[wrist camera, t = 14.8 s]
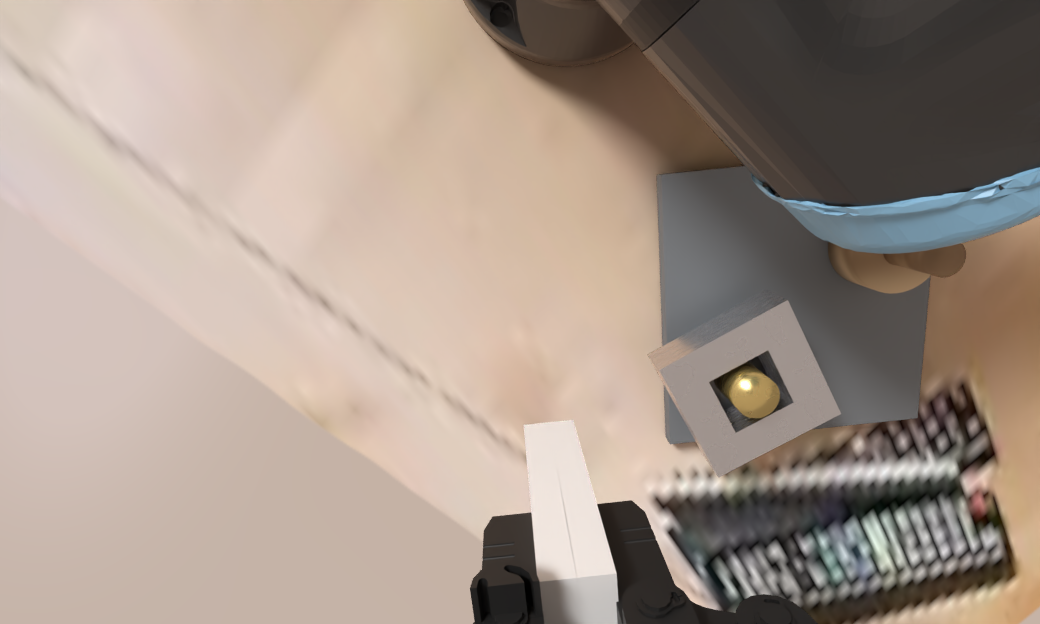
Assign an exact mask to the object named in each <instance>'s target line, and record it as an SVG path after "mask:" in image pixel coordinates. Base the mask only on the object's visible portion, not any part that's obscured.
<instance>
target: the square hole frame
mask: <svg viewBox="0 0 1040 624" xmlns="http://www.w3.org/2000/svg"><path fill="white" fill-rule="evenodd" d="M757 356H758V357H759V359H760V361H761V363H762V365H763V367H764V369H765V371H766V373H767V375H768V377H769V378H770V379H771V380H772V381H773V382H774V383H775V384H776V385H777V386H778V388H779V392H780V399H779V402H778V405H777V407H776V408H775V409H774V410H773V411H772V412H771V413H770V414H768V415H767V416H764V417H761V418H749V417H746V416H744V415H743V414H742V413H741V412H740V411H739V410H738V409H737V408H736V407H735V406H732V407H730V408H728V409H726V410H723V408H722V406H721V404H720V402H719V400H718V398H717V396H716V395H715V393H714V391H713V389H712V387H711V385H710V383H709V382H710V381H712V380H714V379H716V378H717V377H719V376H721V375H723V374H725V373H727V372H729V371H730V370H732V369H734V368H736V367H738V366H740V365H742V364H743V363H745V362H747V361H749V360H751V359H753V358H755V357H757ZM648 357H649V358H650V360H651V362H652V364H653V366H654V367H655V369H656V371H657V373H658V375H659V376H660V378H661V380H662V382H663V384H664V385H665V387H666V389H667V391H668V393H669V395H670V396H671V398H672V400H673V402H674V404H675V405H676V407H677V409H678V411H679V413H680V414H681V416H682V418H683V420H684V422H685V423H686V425H687V427H688V429H689V431H690V432H691V434H692V436H693V438H694V440H695V441H696V443H697V445H698V447H699V449H700V450H701V452H702V454H703V456H704V457H705V459H706V460H707V461H708V463H709V464H710V466H711V467H712V469H713V470H714V472H715V473H716V474H717V476H718V477H720V476H722V475H724V474H726V473H728V472H730V471H732V470H734V469H736V468H738V467H740V466H742V465H743V464H745V463H747V462H749V461H751V460H753V459H755V458H757V457H759V456H761V455H763V454H765V453H767V452H769V451H771V450H772V449H774V448H776V447H778V446H780V445H782V444H784V443H786V442H788V441H790V440H792V439H794V438H796V437H798V436H800V435H801V434H803V433H805V432H807V431H809V430H811V429H813V428H815V427H817V426H819V425H821V424H823V423H825V422H827V421H828V420H830V419H832V418H834V417H836V416H838V415H840V414H841V412H840V410H839V408H838V406H837V404H836V402H835V400H834V397H833V395H832V393H831V391H830V389H829V387H828V385H827V383H826V380H825V378H824V376H823V374H822V372H821V370H820V368H819V365H818V363H817V361H816V359H815V357H814V355H813V353H812V350H811V348H810V346H809V344H808V342H807V340H806V338H805V336H804V333H803V331H802V329H801V327H800V325H799V323H798V321H797V318H796V316H795V314H794V312H793V310H792V308H791V306H790V304H789V301H788V300H787V299H785V298H783V297H781V296H779V295H777V294H774V293H772V292H770V291H768V290H764V291H762V292H760V293H758V294H757V295H755V296H753V297H751V298H749V299H747V300H746V301H744V302H742V303H740V304H738V305H737V306H735V307H733V308H731V309H729V310H727V311H726V312H724V313H722V314H720V315H718V316H717V317H715V318H713V319H711V320H709V321H707V322H706V323H704V324H702V325H700V326H698V327H697V328H695V329H693V330H691V331H689V332H687V333H686V334H684V335H682V336H680V337H678V338H677V339H675V340H673V341H671V342H669V343H668V344H666V345H664V346H662V347H660V348H658V349H657V350H655V351H653V352H651V353H649V354H648Z"/></svg>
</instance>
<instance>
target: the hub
mask: <svg viewBox="0 0 1040 624" xmlns="http://www.w3.org/2000/svg"><path fill="white" fill-rule="evenodd" d="M709 383H710V385H711V387H712V389H713V391H714V393H715V395H716V396H717V398H718V400H719V402H720V404H721V406H722V408H723V410H726V409H728V408H730V407H732V406H735V407H736V408H737V409H738V410H739V411H740V412H741V413H742V414H743V415H744V416H746V417H749V418H761V417H764V416H767V415H768V414H770V413H771V412H772V411H773V410H774V409H775V408H776V407H777V405H778V402H779V399H780V392H779V388H778V386H777V385H776V384H775V383H774V382H773V381H772V380H771V379H770V378H769V377H768V375H767V373H766V371H765V369H764V367H763V365H762V363H761V361H760V359H759V357H758V356H757V357H755V358H753V359H751V360H749V361H747V362H745V363H743V364H742V365H740V366H738V367H736V368H734V369H732V370H730V371H729V372H727V373H725V374H723V375H721V376H719V377H717V378H716V379H714V380H712V381H710V382H709Z"/></svg>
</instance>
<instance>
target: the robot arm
mask: <svg viewBox="0 0 1040 624" xmlns="http://www.w3.org/2000/svg"><path fill="white" fill-rule="evenodd" d="M463 1H464V3H465V5H466V6H467V8H468V10H469V11H470V13H471V14H472V16H473V17H474V18H475V20H476V21H477V22H478V23H479V25H480V26H481V27H482V28H483V29H484V30H485V31H486V32H487V33H488V34H489V35H490V36H491V37H492V38H493V39H494V40H495V41H497V42H498V43H499V44H501V45H502V46H503V47H505V48H507V49H508V50H510V51H511V52H513V53H515V54H517V55H519V56H521V57H523V58H525V59H528V60H531V61H534V62H537V63H541V64H546V65H552V66H580V65H586V64H591V63H595V62H598V61H601V60H604V59H607V58H609V57H611V56H613V55H615V54H617V53H619V52H621V51H623V50H624V49H626V48H627V47H629V46H630V45H632V44H633V43H635V44H636V45H637V46H638V47H639V48H640V49H641V51H642V53H643V54H644V55H645V56H646V58H647V59H648V60H649V61H650V62H651V63H652V64H653V65H654V66H655V67H656V69H657V70H658V71H659V72H660V73H661V74H662V75H663V76H664V77H665V78H666V80H667V81H668V82H669V83H670V84H671V85H672V86H673V87H674V88H675V89H676V91H677V92H678V93H679V94H680V95H681V96H682V97H683V98H684V99H685V100H686V102H687V103H688V104H689V105H690V106H691V107H692V108H693V109H694V110H695V111H696V113H697V114H698V115H699V116H700V117H701V118H702V119H703V120H704V121H705V122H706V124H707V125H708V126H709V127H710V128H711V129H712V130H713V131H714V132H715V133H716V135H717V136H718V137H719V138H720V139H721V140H722V141H723V142H724V143H725V144H726V146H727V147H728V148H729V149H730V150H731V151H732V152H733V153H734V154H735V155H736V157H737V158H738V159H739V160H740V161H741V162H742V163H743V164H744V165H745V166H746V168H747V169H748V170H749V171H750V172H751V178H752V180H753V182H754V183H755V184H756V185H757V187H758V188H759V189H760V190H761V191H762V192H763V193H764V194H765V195H767V196H768V197H770V198H771V199H773V200H775V201H777V202H779V203H781V204H782V205H783V206H784V207H785V208H786V209H787V210H788V211H789V212H790V213H791V214H792V215H793V216H794V217H795V218H796V219H797V220H798V221H799V222H800V223H801V224H802V225H803V226H804V227H805V228H806V229H808V230H809V231H810V232H811V233H812V234H814V235H815V236H817V237H818V238H820V239H822V240H824V241H828V242H831V243H833V244H835V245H838V246H840V247H842V248H845V249H850V250H853V251H857V252H867V253H877V254H897V253H911V252H919V251H927V250H932V249H937V248H942V247H947V246H952V245H956V244H960V243H964V242H968V241H972V240H975V239H979V238H982V237H985V236H988V235H992V234H995V233H997V232H1000V231H1003V230H1006V229H1008V228H1011V227H1014V226H1016V225H1019V224H1021V223H1024V222H1026V221H1028V220H1030V219H1032V218H1035V217H1037V216H1039V215H1040V0H463ZM524 434H525V445H526V457H527V468H528V479H529V491H530V502H531V513H523V514H514V515H504V516H495V517H492V519H491V520H490V522H489V523H488V525H487V527H486V528H485V530H484V539H483V562H482V570H481V571H480V572H479V573H478V574H477V575H476V576H475V577H474V578H473V581H472V584H471V587H470V591H471V598H472V605H473V612H474V619H475V622H474V623H473V624H818V623H817V622H816V621H815V620H814V619H813V618H812V617H811V616H809V615H808V614H807V613H806V612H805V611H804V610H803V609H801V608H800V607H799V606H797V605H796V604H795V603H793V602H791V601H788V600H786V599H784V598H781V597H779V596H772V595H765V594H763V595H756V596H750V597H749V598H747V599H745V600H743V601H742V602H741V603H740V605H739V606H738V608H737V610H736V613H732V612H725V611H718V610H713V609H709V608H705V607H702V606H700V605H697V604H695V603H693V602H692V601H690V600H689V598H688V597H687V595H686V594H685V593H684V591H682V590H681V589H680V588H678V587H677V586H676V585H675V584H674V582H673V579H672V577H671V574H670V572H669V569H668V567H667V565H666V562H665V560H664V557H663V555H662V552H661V550H660V548H659V545H658V543H657V541H656V538H655V535H654V533H653V531H652V529H651V526H650V523H649V521H648V518H647V516H646V514H645V512H644V511H643V510H642V509H641V508H640V507H639V506H637V505H636V504H635V503H634V502H633V501H622V502H613V503H603V504H597V502H596V499H595V495H594V492H593V488H592V484H591V481H590V477H589V474H588V470H587V467H586V463H585V460H584V456H583V453H582V449H581V445H580V442H579V438H578V435H577V431H576V428H575V424H574V421H573V420H566V421H556V422H547V423H537V424H528V425H524Z"/></svg>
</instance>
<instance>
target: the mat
mask: <svg viewBox="0 0 1040 624" xmlns="http://www.w3.org/2000/svg"><path fill="white" fill-rule="evenodd" d="M657 199H658V228H659V257H660V286H661V315H662V344H663V346H664V345H666V344H668V343H669V342H671V341H673V340H675V339H677V338H678V337H680V336H682V335H684V334H686V333H687V332H689V331H691V330H693V329H695V328H697V327H698V326H700V325H702V324H704V323H706V322H707V321H709V320H711V319H713V318H715V317H717V316H718V315H720V314H722V313H724V312H726V311H727V310H729V309H731V308H733V307H735V306H737V305H738V304H740V303H742V302H744V301H746V300H747V299H749V298H751V297H753V296H755V295H757V294H758V293H760V292H762V291H764V290H768V291H770V292H772V293H774V294H777V295H779V296H781V297H783V298H785V299H787V300H788V301H789V304H790V306H791V308H792V310H793V312H794V314H795V316H796V318H797V321H798V323H799V325H800V327H801V329H802V331H803V333H804V336H805V338H806V340H807V342H808V344H809V346H810V348H811V350H812V353H813V355H814V357H815V359H816V361H817V363H818V365H819V368H820V370H821V372H822V374H823V376H824V378H825V380H826V383H827V385H828V387H829V389H830V391H831V393H832V395H833V397H834V400H835V402H836V404H837V406H838V408H839V410H840V412H841V414H840V415H838V416H836V417H834V418H832V419H830V420H828V421H827V422H825V423H823V424H821V425H819V426H817V427H815V428H813V429H819V428H829V427H838V426H848V425H857V424H867V423H876V422H886V421H895V420H904V419H914V418H917V417H918V406H919V395H920V385H921V374H922V363H923V352H924V341H925V330H926V320H927V309H928V298H929V287H930V277H929V278H928V279H927V280H925V281H924V282H923V283H922V284H920V285H919V286H917V287H915V288H913V289H911V290H908V291H905V292H901V293H892V294H890V293H883V292H879V291H876V290H873V289H870V288H867V287H864V286H861V285H858V284H855V283H852V282H850V281H847V280H846V279H844V278H842V277H841V276H840V275H839V274H838V273H837V272H836V271H835V270H834V268H833V267H832V264H831V262H830V259H829V255H828V241H824V240H822V239H820V238H818V237H817V236H815V235H814V234H812V233H811V232H810V231H809V230H808V229H806V228H805V227H804V226H803V225H802V224H801V223H800V222H799V221H798V220H797V219H796V218H795V217H794V216H793V215H792V214H791V213H790V212H789V211H788V210H787V209H786V208H785V207H784V206H783V205H782V204H781V203H779V202H777V201H775V200H773V199H771V198H770V197H768V196H767V195H765V194H764V193H763V192H762V191H761V190H760V189H759V188H758V187H757V185H756V184H755V183H754V182H753V180H752V178H751V172H750V171H749V170H748V169H747V168H746V166H737V167H727V168H717V169H708V170H698V171H688V172H678V173H669V174H659V175H657ZM664 402H665V431H666V438H667V440H668V442H669V443H670V444H678V443H687V442H696V441H695V440H694V438H693V436H692V434H691V432H690V431H689V429H688V427H687V425H686V423H685V422H684V420H683V418H682V416H681V414H680V413H679V411H678V409H677V407H676V405H675V404H674V402H673V400H672V398H671V396H670V395H669V393H668V391H667V389H666V387H665V385H664Z"/></svg>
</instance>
